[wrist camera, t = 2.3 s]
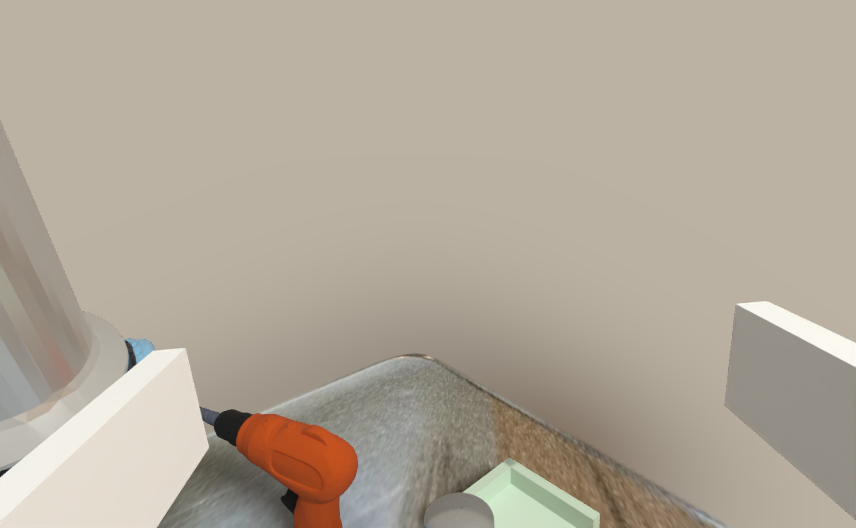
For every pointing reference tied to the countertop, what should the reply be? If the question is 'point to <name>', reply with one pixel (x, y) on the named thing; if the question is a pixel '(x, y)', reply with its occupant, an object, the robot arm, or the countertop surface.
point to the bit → (459, 512)
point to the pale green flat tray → (530, 500)
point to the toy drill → (293, 461)
